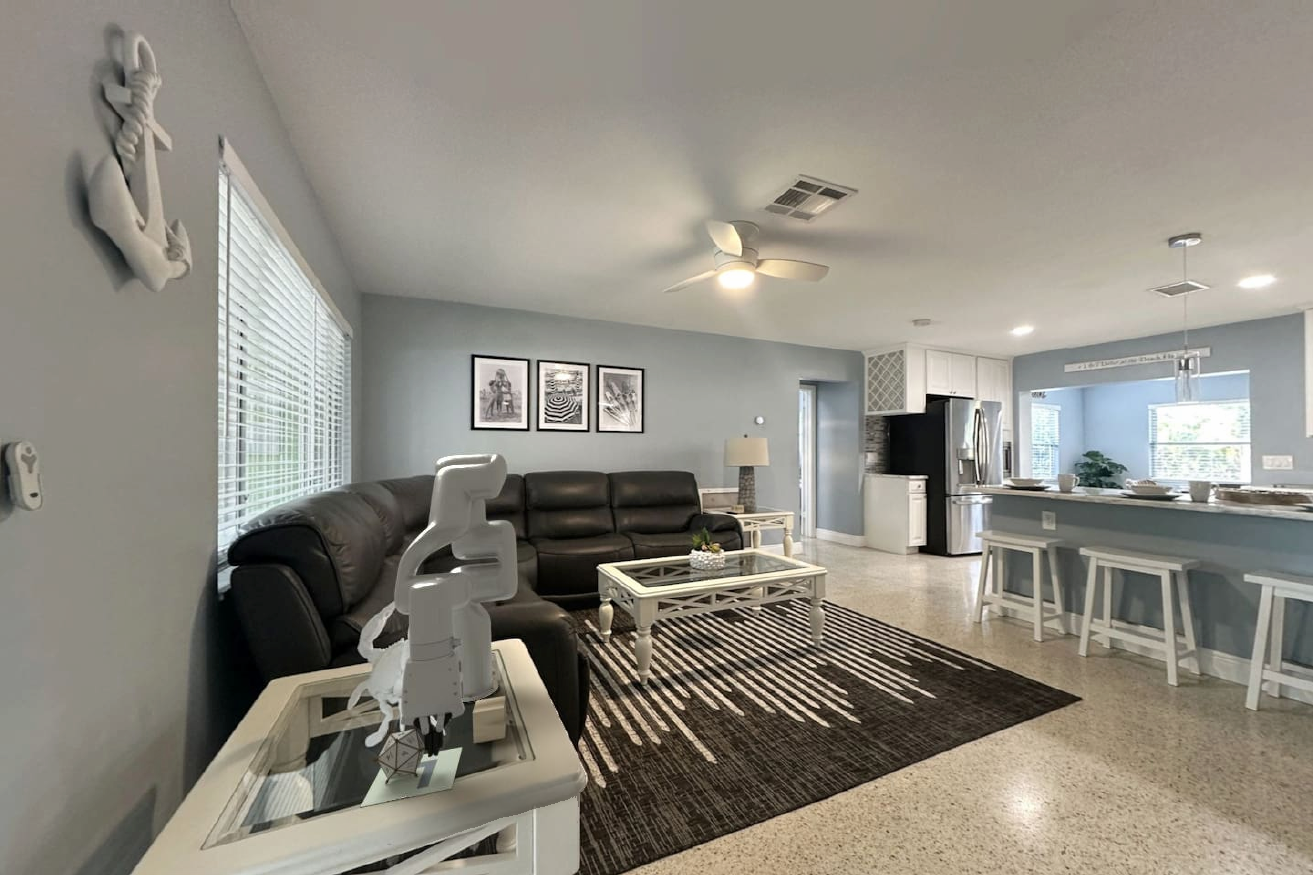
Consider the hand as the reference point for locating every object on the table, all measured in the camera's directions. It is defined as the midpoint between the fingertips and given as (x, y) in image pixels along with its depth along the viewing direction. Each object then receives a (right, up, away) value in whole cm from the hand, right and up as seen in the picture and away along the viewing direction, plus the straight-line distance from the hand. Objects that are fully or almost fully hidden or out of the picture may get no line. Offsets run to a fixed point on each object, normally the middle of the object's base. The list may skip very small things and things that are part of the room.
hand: (434, 752), depth 91 cm
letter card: (-3, -4, -1) cm, 5 cm away
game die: (-5, -4, -2) cm, 6 cm away
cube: (+6, -4, +13) cm, 15 cm away
